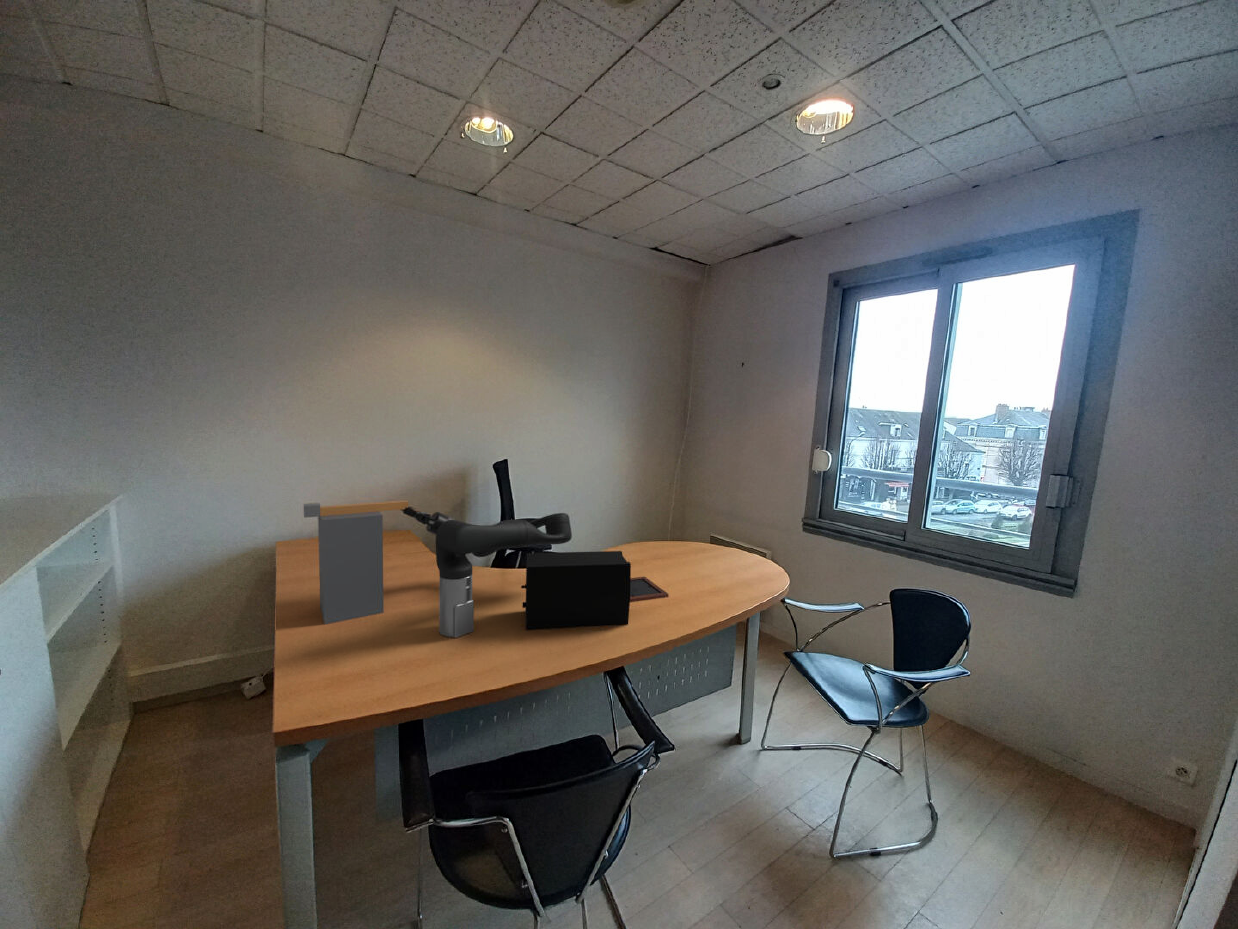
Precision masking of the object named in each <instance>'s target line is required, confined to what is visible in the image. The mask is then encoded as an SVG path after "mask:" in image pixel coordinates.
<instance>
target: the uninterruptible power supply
mask: <svg viewBox="0 0 1238 929" xmlns="http://www.w3.org/2000/svg"><path fill="white" fill-rule="evenodd" d="M525 560H526V563H525V564H526V568H525V583H524V585H520V588H521V589H525V601H523V602H522V607H521V608H523V609H524V608H525V632H526V631H539V630H541V631H542V630H543V631H544V630H553V629H554V630H555V629H556V630H557V629H558V630H560V629H575V628H588V627H589V628H591V627H605V626H606V627H608V626H623V625H625V626H627V625H629V619H630V617H629V616H630V605H631V602H630V583H631V578H632V577H631V576H632V575H631V572H632V571H631V568H632V563H631V562H630V561H627V559H626V558H625V557H624V555H623V551H622V550H612V551H611V550H607V551H603V550H602V551H599V550H598V551H569V552H568V551H563V552H559V551H557V552H527V553H526V559H525Z"/></svg>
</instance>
